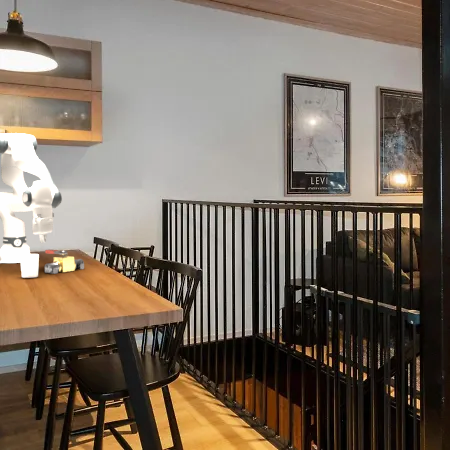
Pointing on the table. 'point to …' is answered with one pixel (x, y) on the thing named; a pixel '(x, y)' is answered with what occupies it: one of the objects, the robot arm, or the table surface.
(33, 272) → the white cup
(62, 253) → the lever
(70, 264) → the valve
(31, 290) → the table surface
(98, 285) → the table surface
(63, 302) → the table surface
